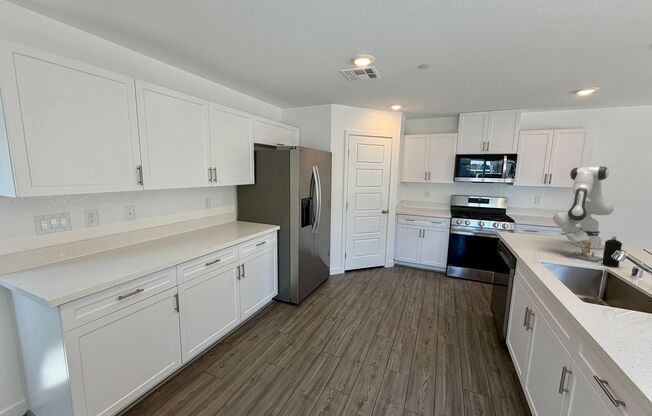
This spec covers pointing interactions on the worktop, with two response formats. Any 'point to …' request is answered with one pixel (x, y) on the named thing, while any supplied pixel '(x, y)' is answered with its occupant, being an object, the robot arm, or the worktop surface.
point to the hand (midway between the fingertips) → (587, 247)
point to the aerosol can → (611, 252)
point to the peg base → (585, 256)
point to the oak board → (587, 248)
